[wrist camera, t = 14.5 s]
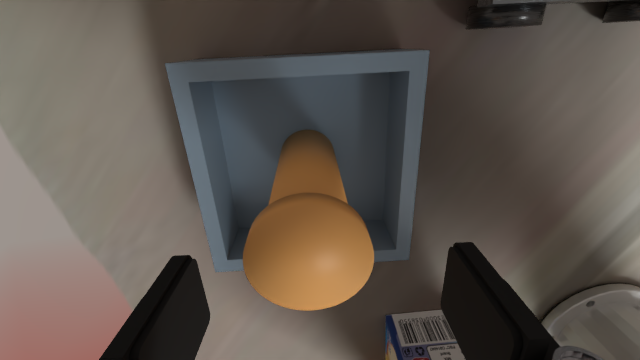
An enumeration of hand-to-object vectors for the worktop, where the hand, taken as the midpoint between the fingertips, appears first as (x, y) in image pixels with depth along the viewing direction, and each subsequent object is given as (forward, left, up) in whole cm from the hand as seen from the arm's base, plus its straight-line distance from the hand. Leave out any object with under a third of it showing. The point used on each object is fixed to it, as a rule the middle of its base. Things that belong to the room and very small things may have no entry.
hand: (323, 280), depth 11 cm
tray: (+1, 0, -14) cm, 14 cm away
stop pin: (+1, 0, -13) cm, 13 cm away
